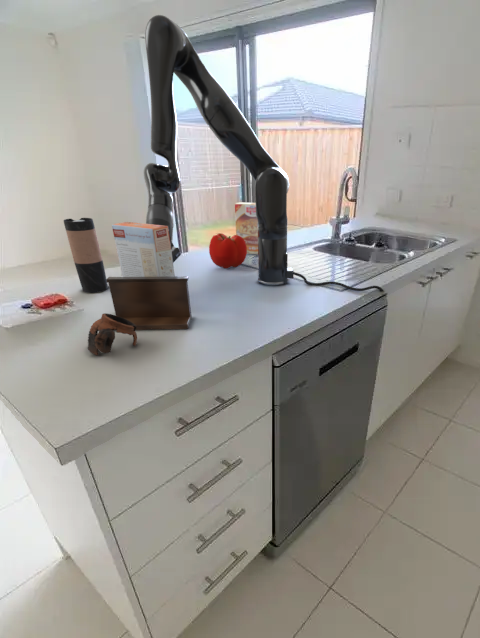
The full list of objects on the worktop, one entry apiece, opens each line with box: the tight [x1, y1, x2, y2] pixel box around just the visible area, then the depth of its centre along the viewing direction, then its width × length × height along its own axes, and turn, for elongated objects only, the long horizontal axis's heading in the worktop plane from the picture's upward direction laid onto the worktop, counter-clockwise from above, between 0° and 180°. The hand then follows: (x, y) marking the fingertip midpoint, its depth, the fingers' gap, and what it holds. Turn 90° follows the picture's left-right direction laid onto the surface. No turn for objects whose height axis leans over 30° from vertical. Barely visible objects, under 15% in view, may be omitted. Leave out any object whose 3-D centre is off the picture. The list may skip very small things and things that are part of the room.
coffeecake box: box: [234, 201, 258, 256], centre depth 154 cm, size 15×7×20 cm, turn 81°
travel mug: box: [63, 217, 109, 294], centre depth 109 cm, size 8×8×20 cm
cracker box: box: [111, 221, 176, 277], centre depth 98 cm, size 14×6×21 cm, turn 63°
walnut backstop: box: [106, 275, 193, 331], centre depth 88 cm, size 19×7×11 cm, turn 94°
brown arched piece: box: [87, 313, 138, 356], centre depth 78 cm, size 12×10×8 cm
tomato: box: [208, 232, 248, 270], centre depth 136 cm, size 13×14×12 cm
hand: (156, 279), depth 103 cm, fingers closed
